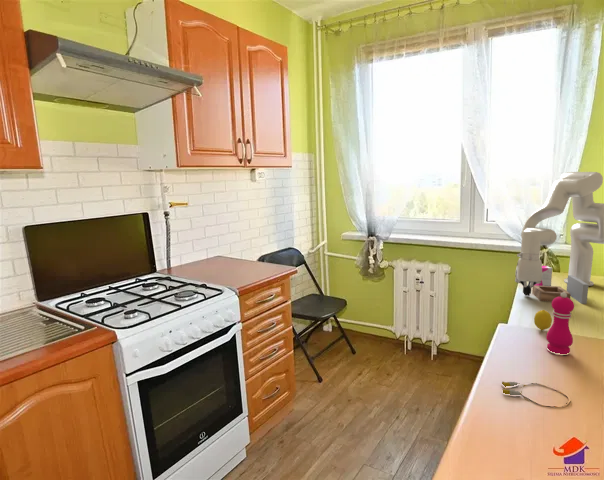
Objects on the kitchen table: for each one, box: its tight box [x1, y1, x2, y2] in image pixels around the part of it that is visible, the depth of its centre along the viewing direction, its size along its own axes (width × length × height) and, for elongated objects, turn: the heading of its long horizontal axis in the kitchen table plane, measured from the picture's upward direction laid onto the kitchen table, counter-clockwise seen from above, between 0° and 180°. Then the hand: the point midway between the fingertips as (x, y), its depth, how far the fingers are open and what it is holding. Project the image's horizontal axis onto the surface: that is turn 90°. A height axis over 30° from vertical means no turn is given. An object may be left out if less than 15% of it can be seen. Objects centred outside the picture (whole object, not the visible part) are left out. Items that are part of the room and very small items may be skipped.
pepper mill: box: [546, 292, 575, 354], centre depth 125 cm, size 7×7×20 cm
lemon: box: [533, 309, 553, 331], centre depth 143 cm, size 6×6×8 cm
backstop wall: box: [565, 275, 590, 305], centre depth 178 cm, size 16×2×9 cm, turn 166°
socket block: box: [531, 285, 571, 303], centre depth 180 cm, size 12×12×4 cm
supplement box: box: [535, 265, 553, 286], centre depth 193 cm, size 6×6×12 cm
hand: (526, 294), depth 182 cm, fingers closed
